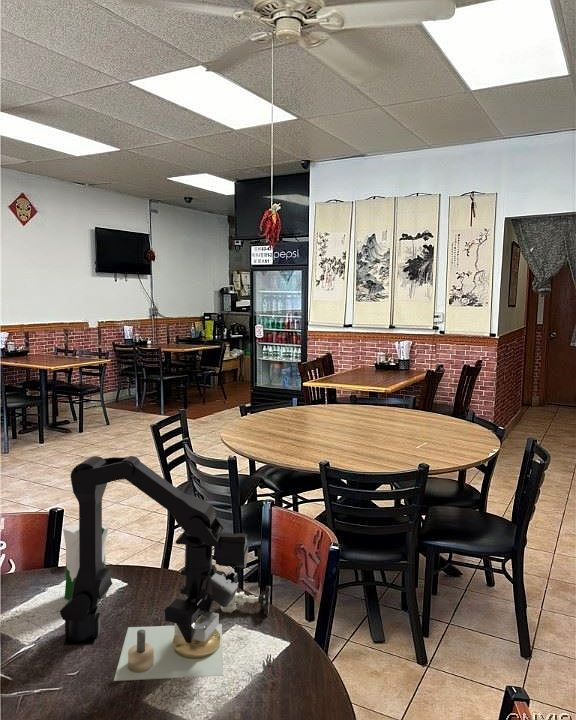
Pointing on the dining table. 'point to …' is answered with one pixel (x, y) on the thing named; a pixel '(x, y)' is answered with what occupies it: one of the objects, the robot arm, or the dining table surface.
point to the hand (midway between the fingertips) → (196, 632)
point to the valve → (243, 598)
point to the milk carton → (77, 555)
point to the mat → (167, 657)
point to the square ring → (202, 626)
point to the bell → (197, 646)
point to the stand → (140, 655)
